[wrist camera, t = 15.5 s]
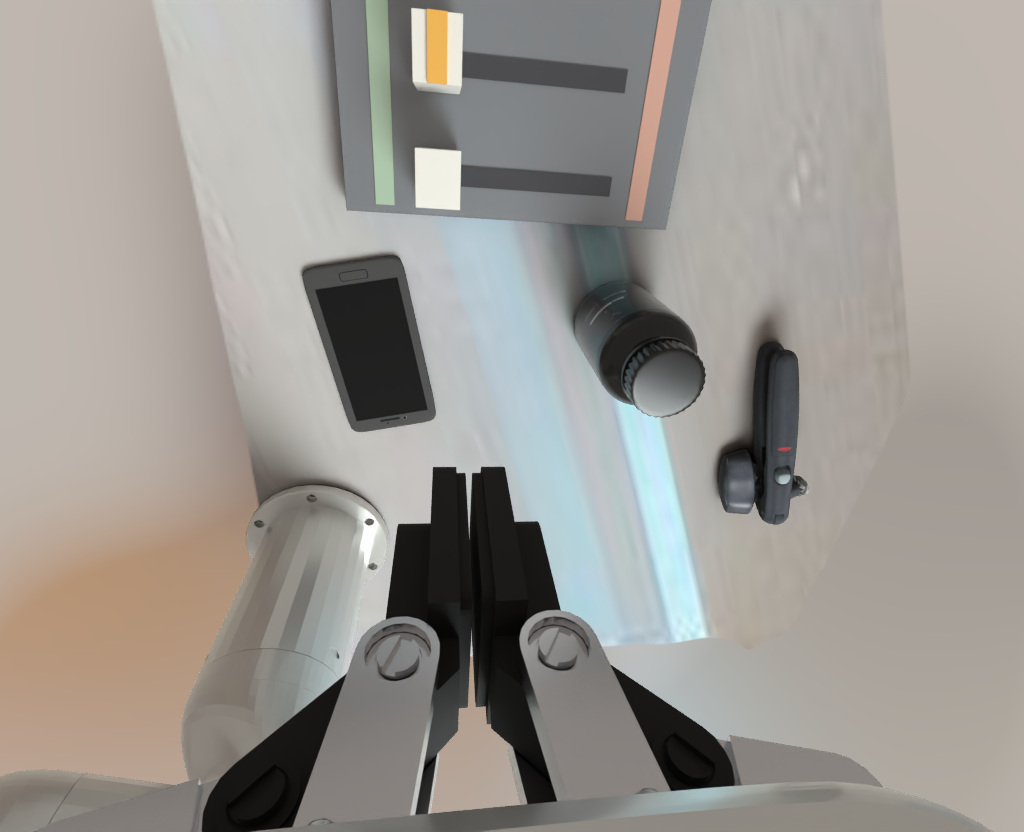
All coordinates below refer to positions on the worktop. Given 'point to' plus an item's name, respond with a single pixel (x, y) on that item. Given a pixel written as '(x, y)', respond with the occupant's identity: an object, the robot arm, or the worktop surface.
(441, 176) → the block
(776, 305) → the worktop surface
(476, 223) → the worktop surface
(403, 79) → the breaker board
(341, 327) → the cell phone
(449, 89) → the handle
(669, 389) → the supplement bottle
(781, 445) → the can opener
